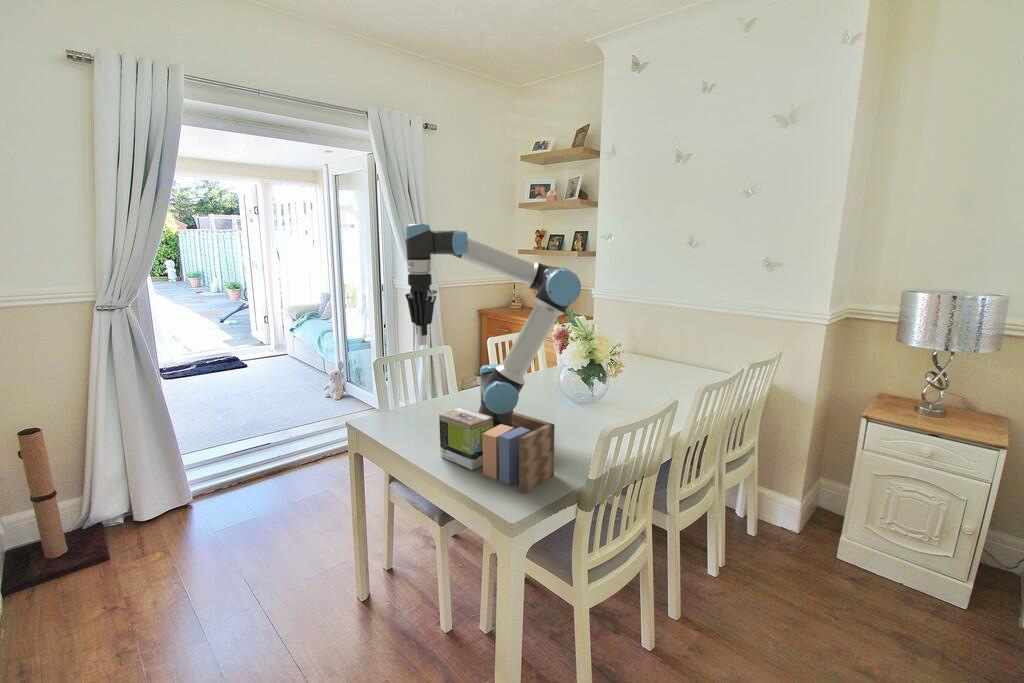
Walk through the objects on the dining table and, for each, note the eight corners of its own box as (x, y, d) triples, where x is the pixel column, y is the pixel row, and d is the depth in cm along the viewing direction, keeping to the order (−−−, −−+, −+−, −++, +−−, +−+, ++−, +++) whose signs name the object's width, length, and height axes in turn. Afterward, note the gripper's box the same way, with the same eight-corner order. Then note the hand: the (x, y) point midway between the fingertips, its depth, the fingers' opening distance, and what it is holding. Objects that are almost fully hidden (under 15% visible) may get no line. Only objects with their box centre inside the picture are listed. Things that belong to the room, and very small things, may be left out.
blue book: (520, 470, 144) (520, 426, 141) (530, 474, 141) (530, 430, 138) (499, 480, 138) (498, 435, 135) (509, 485, 135) (508, 439, 132)
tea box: (494, 460, 151) (493, 416, 148) (471, 471, 143) (470, 425, 140) (462, 447, 160) (461, 405, 158) (439, 457, 153) (437, 413, 150)
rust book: (501, 463, 149) (500, 424, 146) (514, 467, 146) (514, 427, 143) (483, 474, 141) (482, 433, 139) (496, 479, 139) (495, 437, 136)
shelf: (515, 460, 150) (515, 412, 147) (553, 475, 141) (554, 424, 137) (484, 476, 140) (483, 425, 137) (523, 493, 130) (523, 439, 127)
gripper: (397, 272, 154) (401, 343, 159) (423, 274, 146) (426, 349, 151) (415, 271, 160) (418, 340, 165) (441, 273, 152) (444, 345, 157)
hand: (422, 344), depth 158 cm, fingers closed
